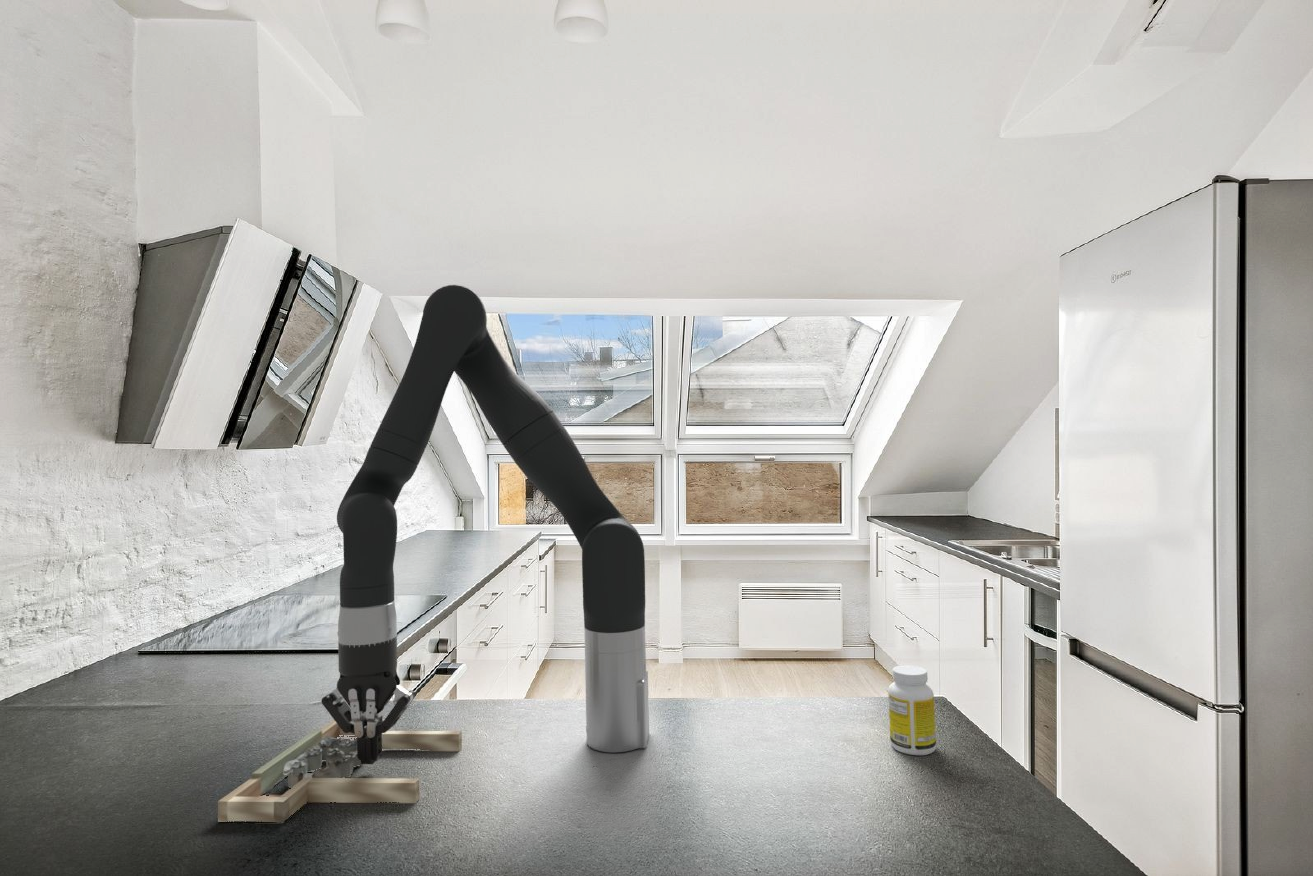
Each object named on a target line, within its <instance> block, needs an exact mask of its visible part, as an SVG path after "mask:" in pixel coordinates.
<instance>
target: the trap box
mask: <svg viewBox="0 0 1313 876" xmlns="http://www.w3.org/2000/svg"><path fill="white" fill-rule="evenodd" d="M385 718H386V717H384V720H385ZM339 735H343V736H341V737H344V735H355V734H353V733H351V732H349V733H344V732H343V731H342V729H341V728H340V727H339V725H338V724H337V723H336V721H335V720H334V719H332V720H331V721H330V722H329V723H327V724H326V725H324V726H323V727H322V728H320V729H318V730H315V729H314V730H312V731H311V732H310V733H308V734H307V735H305V736H304V737H302V738H300V740H298V741H297V742H296V743H294V744H292V745H290V747H288V748H287V749H285V750H283V752H281V753H279V754H278V755H276V756H275V757H274V758H272V759H271V760H269V761H268V762H267V763H265V764H263V765H262V766H260V767H259V768H258V769H256V770H254V771H253V772H252V773H251V777H250V778H249V779H248V780H246V781H244V782H243V783H242V784H241V785H238V787H236V788H235V789H234V790H232V791H231V792H229V793H228V794H227V795H225V796H224V797H222V798H220V799H219V800H218V801H217V823H218V822H227V821H228V822H229V821H230V822H231V821H233V822H234V821H245V822H246V821H257V822H258V821H259V822H261V821H262V822H278V823H277V824H284V823H285V822H284V821H285V820H286V819H288V818H289V817H290V816H291V815H293V814H294V813H295V812H296V811H297V810H298V811H299V810H301V809H302V808H303V807H304V806H305V805H306V804H308V803H330V802H332V804H333V803H334V802H336V804H337V803H338V804H339V803H342V804H343V803H345V804H348V803H349V804H350V803H351V804H353V803H354V804H355V803H356V804H357V803H359V804H393V803H392V802H397V803H396V804H416V803H418V801H419V800H420V778H403V777H402V778H396V777H394V778H392V777H391V778H389V777H388V778H387V777H386V778H385V777H383V778H382V777H376V778H374V777H373V778H372V777H370V778H369V777H364V778H363V777H346V778H303V779H302V780H301V781H299V782H298V783H297V784H296V785H294V786H293V787H292V788H291V789H289V788H288V790H286V791H285V792H284V793H283V794H268V795H269V796H266V795H267V794H265V795H263V796H260V795H261V794H262V793H263V792H265V791H266V790H268V789H269V788H270V787H272V786H273V785H274V784H275V783H277V782H278V781H280V780H281V779H282V778H284V777H285V776H287V775H288V774H287V775H284V774H283V771H284V766H285V764H286V763H287V762H288V761H292V760H295V759H297V758H298V757H299V756H300V755H302V754H303V753H305V751H306V750H307V749H308V748H310V749H312V747H313V746H316V745H317V744H318V743H319V742H320V741H322V739H323V738H324V737H325V736H330V737H333V738H336V739H337V737H340V736H339ZM462 735H463V734H462V730H388V731H387V732H385V733H382V749H394V748H395V749H416V750H417V749H420V750H429V751H428V752H460V751H461V750H462V748H463V739H462V737H463V736H462ZM347 737H348V736H347ZM349 737H356V736H349ZM351 739H352V738H351ZM356 739H357V738H356ZM354 740H355V738H354ZM308 801H310V802H308ZM307 802H308V803H307ZM377 802H378V803H377ZM380 802H382V803H380ZM383 802H384V803H383ZM385 802H387V803H385ZM389 802H391V803H389ZM398 802H399V803H398ZM304 804H305V805H304ZM303 805H304V806H303ZM302 806H303V807H302ZM301 807H302V808H301ZM300 808H301V809H300ZM298 811H297V812H298ZM297 812H296V813H297ZM296 813H295V814H296ZM295 814H294V815H295ZM294 815H293V816H294ZM291 817H292V816H291ZM291 817H290V818H291ZM290 818H289V819H290ZM289 819H288V820H289ZM279 822H281V823H279Z"/></svg>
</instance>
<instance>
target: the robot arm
mask: <svg viewBox="0 0 1313 876" xmlns="http://www.w3.org/2000/svg"><path fill="white" fill-rule="evenodd" d="M487 321H488V320H487V311H486V308H485V305H484V302H483V301H482V299H481V297H480V296H479V295H478V294H477V293H476V292H475V291H473V290H472V289H470V288H469V287H467V286H464V285H458V284H448V285H445V286H444V285H443V286H442V287H439V288H438V289H436V290H435V291H434V292H432V293H431V294H430V296H429V297H428V298H427V300H426V302H425V304H424V306H423V311H422V317H421V320H420V324H419V327H418V331H417V332H418V333H417V335H416V339H415V342H414V346H413V348H412V352H411V355H410V358H409V360H408V363H407V365H406V368H405V371H404V373H403V376H402V378H401V379H400V382H399V385H398V387H397V389H396V392H395V393H394V395H393V397H392V399H391V402H390V403H389V406H388V407H387V410H386V411H385V414H384V416H383V418H382V420H381V421H380V424H379V426H378V428H377V431H376V433H375V435H374V437H373V438H372V441H371V443H370V446H369V448H368V451H367V452H366V455H365V458H364V461H363V462H362V465H361V467H360V468H359V470H358V471H357V473H356V475H355V476H354V478H353V480H352V481H351V483H350V485H349V487H348V488H347V490H346V492H345V494H344V495H343V498H342V499H341V502H340V504H339V506H338V508H337V512H336V523H337V527H338V529H339V530H340V532H341V533H342V538H343V541H342V542H343V545H342V546H343V566H342V568H341V570H340V576H339V613H338V622H337V623H338V624H337V638H338V639H337V640H338V641H337V642H338V643H337V644H338V646H337V648H338V649H337V651H338V652H337V653H338V655H337V656H338V673H339V679H338V680H337V683H336V688H335V689H334V690H332V691H331V692H330V693H327V694H326V695H325V696H324V697H322V698H321V701H320V702H321V704H322V706H323V707H324V708H325V709H326V711H327V712H328V714H329V715H330V717H331V718H332V720H335V721H336V723H337V724H338V725H339V727H340V728H341V729H342V731H343V732H344V733H349V732H351V733H353V734H355V736H356V737H357V757H358V759H359V760H361V764H364V765H374V764H375V763H376V762H377V761H378V760H379V758H380V757H381V756H382V754H383V753H382V752H383V751H382V733H385V732H387V731H390V729H392V728H393V727H394V726H395V725H396V724H397V722H399V720H400V718H401V717H402V715H404V713H405V711H406V710H407V708H408V707H409V706H410V705H411V703H412V702H413V700H414V699H415V698H416V692H415V690H407V689H405V688H404V687H403V686H401V679H400V676H399V675H398V673H397V668H398V633H397V632H398V627H397V626H398V625H397V621H398V619H397V618H398V617H397V612H396V606H395V605H396V604H395V602H396V601H395V574H394V561H395V556H396V550H397V549H396V547H397V540H398V515H397V511H396V508H395V505H396V502H397V500H398V498H399V496H400V495H401V494H400V493H401V491H402V490H403V488H404V486H405V485H406V484H407V483H408V482H409V481H410V480H411V479H412V477H413V476H414V474H415V472H416V471H417V469H418V465H419V464H420V462H421V459H422V457H423V455H424V453H425V451H426V449H427V445H428V443H429V441H430V439H431V435H432V433H433V430H434V428H435V425H436V422H437V419H438V416H439V413H440V410H441V409H440V408H441V407H442V403H443V399H444V397H445V394H446V390H447V388H448V386H449V383H450V381H451V379H452V377H453V374H454V373H455V374H456V376H458V377H459V379H460V380H461V381H462V383H463V384H464V385H465V386H466V387H467V389H468V390H469V392H470V393H471V395H472V396H473V397H474V399H475V401H476V403H477V405H478V407H479V408H480V411H481V412H482V413H483V416H484V417H485V419H486V421H487V422H488V423H489V426H490V428H491V429H492V431H494V433H495V434H496V436H497V438H498V439H499V442H501V443H500V444H502V446H503V447H504V449H505V451H506V452H507V453H508V454H509V456H510V457H511V459H512V461H514V463H515V465H516V466H517V467H518V468H519V469H520V470H521V472H522V474H524V475H525V476H526V478H527V479H528V480H529V481H530V483H532V485H533V486H534V487H535V488H536V489H537V490H539V492H540V493H542V495H543V496H544V497H545V498H546V499H547V500H548V501H549V502H550V503H551V504H553V506H554V507H555V508H556V510H558V511H559V513H560V514H561V516H562V518H564V520H565V522H566V524H567V525H568V527H569V528H570V530H571V532H572V534H573V535H574V537H575V539H576V541H577V543H578V544H579V546H580V549H581V573H582V574H581V575H582V576H581V577H582V578H581V579H582V606H583V609H582V610H583V624H584V625H583V627H584V633H583V634H584V673H585V675H584V678H585V679H584V680H585V719H586V726H585V730H586V743H587V744H586V745H587V746H589V747H590V748H591V749H593V750H595V751H598V752H602V753H603V752H604V753H625V752H629V751H630V752H631V751H633V750H638V749H646V748H647V745H648V739H649V735H650V710H649V709H650V708H649V707H650V705H649V703H650V702H649V672H648V670H647V662H646V661H647V656H646V655H647V653H646V649H647V647H646V646H647V645H646V563H645V546H644V542H643V540H642V537H641V535H640V533H639V532H638V530H637V528H636V527H635V526H634V525H633V524H632V523H631V522H629V521H628V520H627V519H626V517H625V516H623V514H622V513H621V511H619V510H618V508H617V507H616V506H615V505H614V504H613V502H612V501H611V500H610V499H609V498H608V497H607V495H606V494H605V493H604V492H603V491H602V489H601V488H600V486H599V485H598V483H597V482H596V480H595V478H594V476H593V475H592V473H591V471H590V468H589V467H588V465H587V463H586V461H585V459H584V458H583V456H582V453H581V452H580V451H579V449H578V448H579V447H577V445H576V443H575V442H574V440H573V438H572V437H571V435H570V434H569V432H568V430H567V429H566V427H565V426H564V425H563V423H562V422H561V420H560V419H559V417H558V416H557V415H556V413H555V412H554V410H553V409H552V407H551V406H550V405H549V404H548V403H547V401H546V400H545V399H544V398H543V397H542V396H541V395H540V394H539V393H538V392H537V391H536V390H535V389H534V388H533V387H532V386H530V384H529V383H527V382H526V381H525V380H524V379H523V378H521V376H519V375H518V374H517V373H516V371H514V370H513V369H512V367H511V366H510V365H509V364H508V362H507V361H506V359H505V358H504V356H503V355H502V353H501V351H500V350H499V348H498V346H497V345H496V343H495V342H494V339H493V337H492V336H491V334H490V332H489V329H488V328H487V323H488V322H487ZM393 696H394V698H393ZM392 698H393V701H392V702H393V705H394V706H393V707H392V709H391V710H390V712H389V713H388V714H387V716H386V717H385V714H386V712H387V705H388V704H389V702H390V701H391V699H392ZM384 718H385V720H384Z"/></svg>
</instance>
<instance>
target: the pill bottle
mask: <svg viewBox="0 0 1313 876" xmlns="http://www.w3.org/2000/svg"><path fill="white" fill-rule="evenodd" d="M892 679H893V680H894V681H893V682H892V683H891V684H890V685H889V686H888V691H887V692H888V693H887V694H888V695H887V696H888V714H889V715H888V717H889V738H890V739H889V740H890V745H891V746H892V748H893V749H895V751H898V752H900V753H902V754H906V755H911V756H927V755H929V754H932V753H934V752H935V751H936V749H937V737H936V736H937V735H936V733H937V732H936V716H935V713H936V712H935V697H934V691H933V689H932V687H930V686H929V685H928V684H927V683H928V680H929V679H928V670H927V669H926V668H924V667H921V666H916V665H897V666H894V667H893V668H892Z"/></svg>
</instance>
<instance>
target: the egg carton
mask: <svg viewBox="0 0 1313 876" xmlns="http://www.w3.org/2000/svg"><path fill="white" fill-rule="evenodd" d="M322 760H326V762H325V765H326V766H325V767H324V768H323V762H322ZM357 765H363V764H361V760H359V759H358V757H357V739H355V740H350V739H344V738H341V737H340V738H339V739H336V738H333V737H330V736H325V737H324V738H323V739H322V741H320V742H319V743H318V744H317V745H316V746H313V747H312V749H310V748H308V749H307V750H306V751H305V753H303V754H302V755H300V756H299V757H298V758H297V759H295V760H292V761H288V762H287V763H286V764H285V766H284V771H283V774H284V775H287V774H288V777H287V787H288V786H291V788H292V787H293V786H294V785H296V784H297V783H298V782H299V781H301V780H302V779H303V778H343V777H346V778H348V777H347V776H350V775H351V774H352V775H353V770H354V768H353V767H354V766H357ZM321 766H322V768H321ZM363 766H364V765H363ZM319 768H321V769H319ZM316 769H317V770H316ZM311 770H315V771H314V772H312V773H307V771H311ZM352 775H351V776H352ZM351 776H350V777H351Z"/></svg>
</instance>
